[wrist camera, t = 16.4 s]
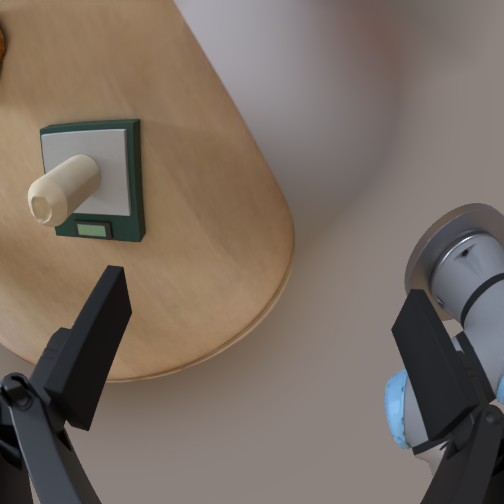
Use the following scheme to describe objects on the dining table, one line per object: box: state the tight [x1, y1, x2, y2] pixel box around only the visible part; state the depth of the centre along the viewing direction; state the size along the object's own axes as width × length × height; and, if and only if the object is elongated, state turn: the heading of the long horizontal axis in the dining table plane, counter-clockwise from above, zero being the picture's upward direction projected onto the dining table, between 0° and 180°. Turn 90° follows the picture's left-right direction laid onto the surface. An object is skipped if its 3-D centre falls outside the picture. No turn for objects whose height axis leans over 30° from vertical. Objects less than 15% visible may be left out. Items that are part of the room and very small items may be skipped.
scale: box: [40, 119, 145, 242], centre depth 37 cm, size 14×16×3 cm
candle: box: [28, 154, 101, 227], centre depth 30 cm, size 6×6×10 cm
